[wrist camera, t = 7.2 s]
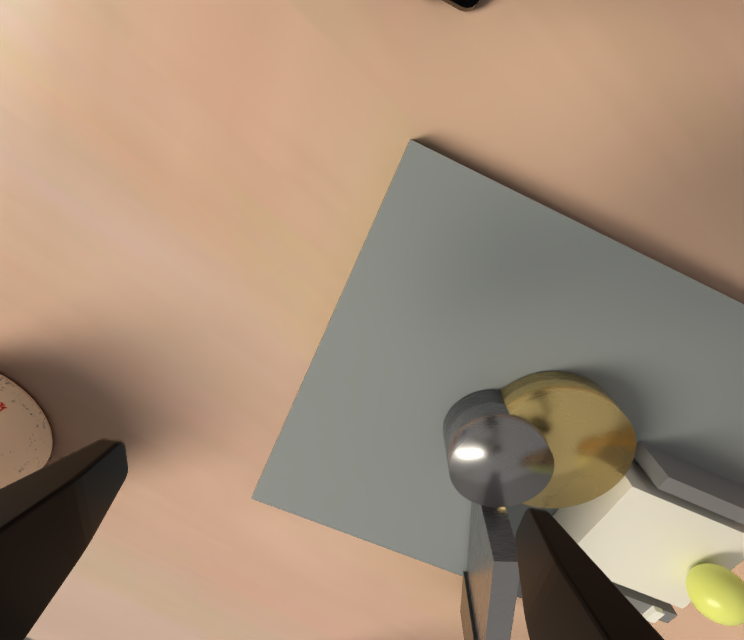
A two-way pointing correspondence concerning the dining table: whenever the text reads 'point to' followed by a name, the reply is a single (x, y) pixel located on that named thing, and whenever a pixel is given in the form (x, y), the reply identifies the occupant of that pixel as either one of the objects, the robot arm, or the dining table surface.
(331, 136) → the dining table surface
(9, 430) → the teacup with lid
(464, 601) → the cam capstan
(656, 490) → the cam foot
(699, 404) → the level stand
